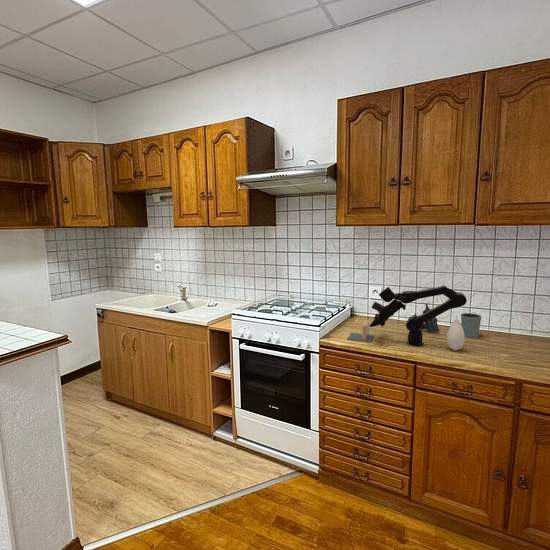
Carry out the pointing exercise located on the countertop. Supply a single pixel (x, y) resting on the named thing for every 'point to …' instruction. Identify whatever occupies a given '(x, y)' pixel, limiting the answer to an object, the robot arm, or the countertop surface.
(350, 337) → the mat
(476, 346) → the countertop surface
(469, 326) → the grey plant pot
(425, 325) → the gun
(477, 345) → the countertop surface
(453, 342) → the sauce bottle
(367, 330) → the tile
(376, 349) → the countertop surface
